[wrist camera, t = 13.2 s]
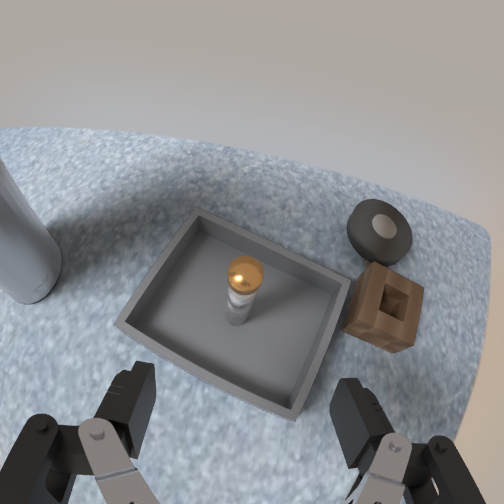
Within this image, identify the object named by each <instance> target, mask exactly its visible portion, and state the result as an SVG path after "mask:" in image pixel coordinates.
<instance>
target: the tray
mask: <svg viewBox="0 0 504 504" xmlns="http://www.w3.org/2000/svg"><path fill="white" fill-rule="evenodd" d="M240 256H250V257H253V258H255V259H257V260H258V261H259V262H260V263H261V264H262V266H263V268H264V278H263V281H262V283H261V286H260V288H259V289H258V290H257V293H256V295H255V298H254V301H253V303H252V306H251V309H250V311H249V314H248V317H247V319H246V321H245V322H244V323H243V324H242V325H239V326H234V325H231V324H229V323H228V322H227V321H226V319H225V307H226V298H227V289H228V282H227V275H228V268H229V265H230V263H231V262H232V261H233V260H234V259H236V258H237V257H240ZM350 283H351V280H349V279H347V278H345V277H343V276H341V275H339V274H337V273H335V272H333V271H331V270H329V269H327V268H325V267H323V266H321V265H318V264H316V263H314V262H312V261H310V260H308V259H306V258H304V257H302V256H300V255H298V254H296V253H294V252H292V251H289V250H287V249H285V248H283V247H281V246H279V245H277V244H275V243H273V242H271V241H269V240H266V239H264V238H262V237H260V236H258V235H256V234H254V233H252V232H249V231H247V230H245V229H243V228H241V227H239V226H237V225H235V224H232V223H230V222H228V221H226V220H224V219H222V218H220V217H217V216H215V215H213V214H211V213H209V212H207V211H204V210H202V209H200V208H198V207H196V208H195V209H194V210H193V211H192V213H191V214H190V215H189V217H188V218H187V219H186V221H185V222H184V223H183V225H182V226H181V227H180V229H179V230H178V231H177V233H176V234H175V235H174V237H173V238H172V239H171V241H170V242H169V243H168V245H167V246H166V248H165V249H164V250H163V252H162V253H161V254H160V256H159V257H158V259H157V260H156V261H155V263H154V264H153V266H152V267H151V269H150V270H149V271H148V273H147V274H146V276H145V277H144V279H143V280H142V281H141V283H140V284H139V286H138V287H137V289H136V290H135V292H134V293H133V295H132V296H131V298H130V299H129V301H128V302H127V304H126V305H125V307H124V308H123V310H122V311H121V313H120V314H119V316H118V318H117V319H116V321H115V322H114V325H115V326H116V327H117V328H118V329H119V330H121V331H122V332H123V333H124V334H126V335H127V336H129V337H130V338H132V339H133V340H135V341H136V342H138V343H139V344H141V345H142V346H144V347H145V348H147V349H149V350H150V351H152V352H153V353H155V354H157V355H158V356H160V357H162V358H163V359H165V360H167V361H168V362H170V363H172V364H173V365H175V366H177V367H179V368H180V369H182V370H184V371H186V372H187V373H189V374H191V375H193V376H195V377H196V378H198V379H200V380H202V381H204V382H206V383H208V384H210V385H211V386H213V387H215V388H217V389H219V390H221V391H223V392H225V393H227V394H229V395H231V396H233V397H236V398H238V399H240V400H242V401H244V402H246V403H248V404H251V405H253V406H255V407H257V408H259V409H262V410H264V411H266V412H269V413H271V414H273V415H276V416H278V417H281V418H283V419H286V420H290V421H295V422H296V419H297V417H298V415H299V413H300V411H301V409H302V407H303V405H304V402H305V400H306V398H307V396H308V393H309V391H310V389H311V387H312V384H313V382H314V380H315V377H316V375H317V373H318V370H319V368H320V365H321V363H322V360H323V358H324V355H325V353H326V350H327V348H328V345H329V343H330V340H331V337H332V335H333V332H334V329H335V327H336V324H337V321H338V318H339V316H340V313H341V310H342V307H343V304H344V301H345V298H346V295H347V292H348V289H349V286H350Z"/></svg>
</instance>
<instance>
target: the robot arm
mask: <svg viewBox="0 0 504 504" xmlns="http://www.w3.org/2000/svg"><path fill="white" fill-rule="evenodd" d="M61 266H62V255H61V250H60V248H59V245H58V244H57V243H56V241H55V240H54V239H53V237H52V236H51V235H50V233H49V232H48V231H47V229H46V228H45V226H44V225H43V223H42V222H41V221H40V219H39V218H38V216H37V215H36V214H35V212H34V211H33V209H32V208H31V206H30V205H29V203H28V202H27V200H26V199H25V197H24V196H23V194H22V193H21V191H20V190H19V188H18V186H17V185H16V183H15V181H14V180H13V178H12V177H11V175H10V173H9V172H8V170H7V168H6V166H5V165H4V163H3V161H2V160H1V158H0V289H1V290H2V291H3V292H5V293H6V294H7V295H9V296H10V297H11V298H13V299H14V300H16V301H17V302H19V303H22V304H32V303H35V302H37V301H39V300H41V299H42V298H44V297H45V296H46V295H47V294H48V293H49V292H50V291H51V289H52V288H53V287H54V285H55V283H56V281H57V280H58V277H59V274H60V271H61ZM155 399H156V381H155V368H154V364H152V363H146V362H141V361H136V362H135V364H134V366H133V368H132V370H131V371H127V370H123V371H121V372H120V373H119V374H117V375H116V376H115V377H114V379H113V381H112V383H111V386H110V387H109V389H108V391H107V393H106V395H105V396H104V398H103V400H102V402H101V404H100V406H99V408H98V410H97V412H96V414H95V416H94V418H91V419H87V420H85V421H84V422H83V423H81V425H80V426H68V425H58V424H57V422H56V420H55V419H54V418H53V417H52V416H50V415H47V414H36V415H33V416H32V417H30V418H29V419H28V420H27V422H26V424H25V426H24V427H23V429H22V431H21V433H20V434H19V436H18V438H17V440H16V442H15V444H14V445H13V447H12V449H11V451H10V453H9V455H8V457H7V459H6V461H5V463H4V465H3V467H2V469H1V471H0V504H68V501H69V498H70V495H71V491H72V488H73V485H74V482H75V479H76V476H77V474H79V475H95V479H96V482H97V484H98V486H99V489H100V491H101V493H102V495H103V497H104V499H105V501H106V503H107V504H160V503H159V502H158V500H157V499H156V497H155V496H154V494H153V493H152V491H151V490H150V488H149V487H148V485H147V483H146V482H145V480H144V478H143V477H142V475H141V474H140V472H139V471H138V469H137V468H135V467H134V465H133V463H132V462H131V460H130V458H134V459H138V456H139V452H140V449H141V446H142V442H143V439H144V436H145V432H146V429H147V426H148V423H149V419H150V416H151V413H152V410H153V407H154V404H155ZM330 416H331V419H332V422H333V425H334V428H335V430H336V433H337V436H338V439H339V442H340V445H341V448H342V451H343V454H344V457H345V460H346V463H347V466H348V469H351V468H358V469H359V473H358V474H357V476H356V478H355V479H354V481H353V483H352V485H351V487H350V489H349V491H348V493H347V494H346V496H345V498H344V500H343V501H342V503H341V504H400V501H401V498H402V495H403V496H404V499H405V501H406V504H486V503H485V501H484V499H483V497H482V495H481V493H480V491H479V489H478V487H477V485H476V483H475V482H474V480H473V478H472V476H471V474H470V472H469V470H468V468H467V466H466V465H465V463H464V461H463V459H462V457H461V456H460V454H459V452H458V450H457V449H456V447H455V445H454V443H453V442H452V441H451V440H450V439H449V438H447V437H445V436H434V437H432V438H431V439H430V441H429V442H428V443H427V444H419V443H411V442H410V440H409V439H408V438H407V437H406V436H404V435H402V434H399V433H395V431H394V430H393V428H392V426H391V424H390V422H389V420H388V418H387V416H386V415H385V413H384V411H382V407H381V405H380V404H379V402H378V400H377V398H376V396H375V395H374V394H373V393H372V392H371V391H370V390H369V389H367V388H363V387H362V385H361V383H360V381H359V379H358V378H342V379H340V380H339V382H338V385H337V387H336V390H335V392H334V395H333V398H332V400H331V403H330ZM432 478H433V479H434V481H435V483H436V485H437V488H438V490H439V496H438V494H437V492H436V489H435V487H434V485H433V482H432V480H431V479H432Z"/></svg>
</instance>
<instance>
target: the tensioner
mask: <svg viewBox="0 0 504 504" xmlns="http://www.w3.org/2000/svg"><path fill="white" fill-rule="evenodd" d="M347 234H348V237H349V240H350V242H351V244H352V246H353V247H354V249H355V250H356V251H357V252H358V253H359V254H360V255H361V256H362V257H363V258H364V259H365V266H366V270H365V271H364V272H363V273H362V274H361V275H360V276H359V277H358V280H357V284H356V287H355V290H354V293H353V296H352V299H351V303H350V306H349V309H348V312H347V315H346V317H345V320H344V323H343V326H342V329H341V330H342V331H344V332H346V333H348V334H350V335H352V336H355V337H357V338H359V339H361V340H364V341H366V342H368V343H370V344H372V345H375V346H377V347H379V348H382V349H384V350H386V351H388V352H391V353H396V352H398V351H401V350H403V349H406V348H408V347H411V346H413V345H414V341H415V337H416V332H417V327H418V322H419V317H420V311H421V306H422V299H423V293H424V287H422V286H420V285H418V284H416V283H415V282H413V281H411V280H409V279H407V278H405V277H403V276H402V275H400V274H398V273H396V272H394V271H392V270H390V269H388V268H386V267H385V266H389V265H393V264H395V263H396V262H398V261H399V260H400V259H401V258H402V257H403V256H404V255H405V254H406V253H407V252H408V251H409V249H410V247H411V245H412V233H411V229H410V227H409V224H408V222H407V221H406V219H405V218H404V216H403V215H402V214H401V213H400V212H399V211H398V210H397V209H396V208H394V207H393V206H392V205H390V204H388V203H386V202H384V201H381V200H376V199H367V200H364V201H362V202H360V203H359V204H358V205H357V206H356V208H355V209H354V211H353V213H352V214H351V216H350V217H349V219H348V222H347Z"/></svg>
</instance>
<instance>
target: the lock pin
mask: <svg viewBox="0 0 504 504" xmlns="http://www.w3.org/2000/svg"><path fill="white" fill-rule="evenodd" d="M263 278H264V268H263V266H262V264H261V263H260V262H259V261H258V260H257V259H255V258H253V257H250V256H240V257H237V258H236V259H234V260H233V261H232V262H231V263H230V265H229V268H228V275H227V282H228V289H227V298H226V307H225V319H226V321H227V322H228V323H229V324H231V325H234V326H239V325H242V324H243V323H244V322H245V321H246V319H247V317H248V314H249V311H250V309H251V306H252V303H253V301H254V298H255V295H256V293H257V290H258V289H259V288H260V286H261V283H262V281H263Z"/></svg>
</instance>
